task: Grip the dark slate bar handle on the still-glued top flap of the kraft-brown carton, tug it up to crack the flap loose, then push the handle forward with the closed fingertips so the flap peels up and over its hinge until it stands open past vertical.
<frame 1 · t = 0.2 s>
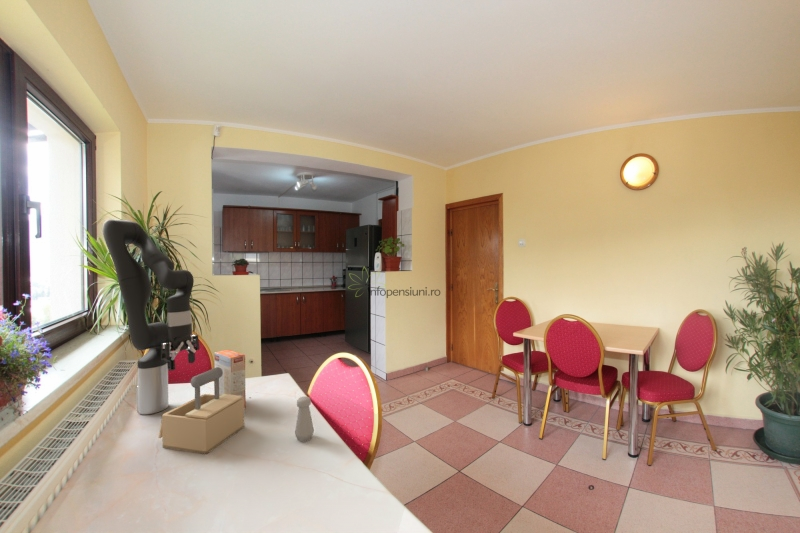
hand: (182, 366, 121), 18 cm above the table, tool pointing down, fingers open, 8 cm apart
cracker box: (230, 406, 127), on the table
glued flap: (214, 389, 103), point 16 cm above the table, hinge at 0.0°
salt shaker: (304, 439, 103), on the table
carton: (205, 436, 104), on the table
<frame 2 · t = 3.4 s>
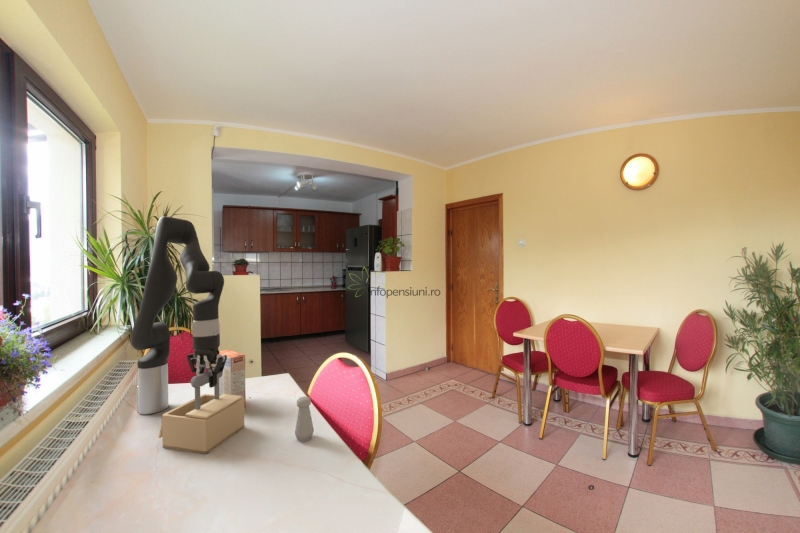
hand: (207, 385, 104), 17 cm above the table, tool pointing down, fingers closed on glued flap, 3 cm apart
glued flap: (214, 389, 103), point 16 cm above the table, hinge at -0.1°, touching gripper
everything else where it was.
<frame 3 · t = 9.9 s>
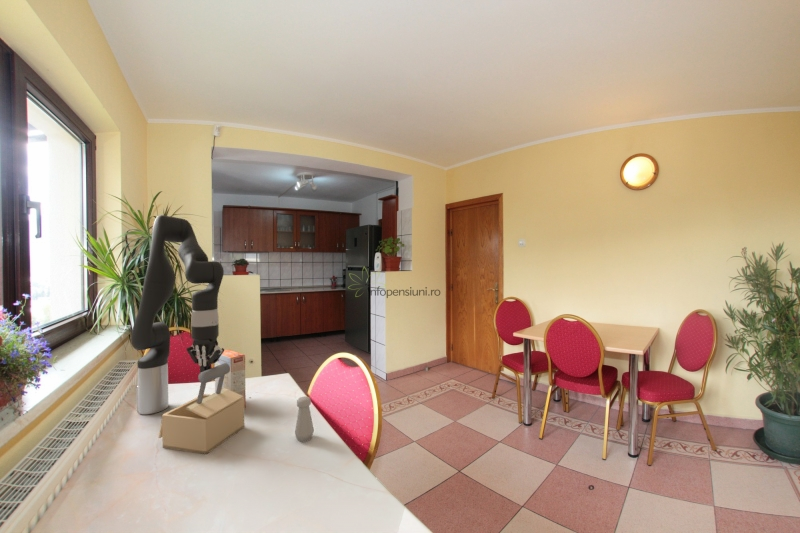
hand: (205, 376, 104), 20 cm above the table, tool pointing down, fingers closed
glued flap: (218, 386, 103), point 17 cm above the table, hinge at 16.2°, touching gripper
everything else where it was.
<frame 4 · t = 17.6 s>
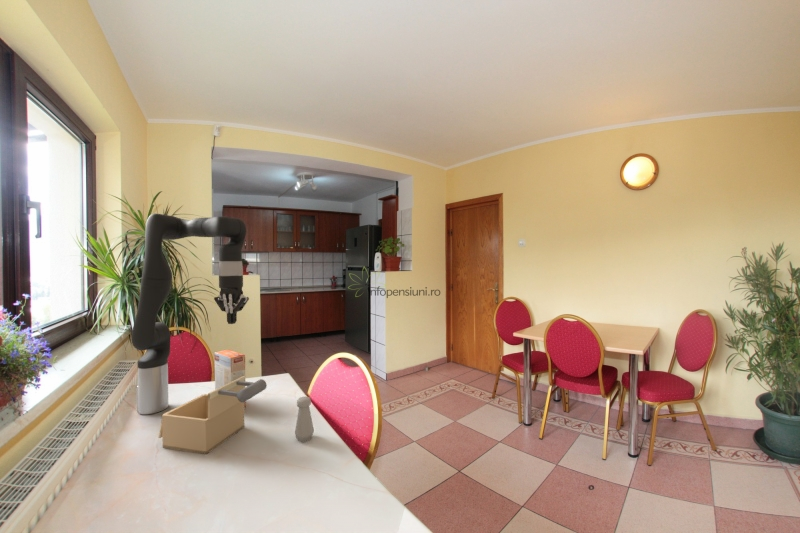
hand: (231, 323, 113), 35 cm above the table, tool pointing down, fingers closed
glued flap: (241, 396, 101), point 14 cm above the table, hinge at 92.1°
everything else where it was.
at the end: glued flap at +92° (first picture: +0°); the gripper is holding nothing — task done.
